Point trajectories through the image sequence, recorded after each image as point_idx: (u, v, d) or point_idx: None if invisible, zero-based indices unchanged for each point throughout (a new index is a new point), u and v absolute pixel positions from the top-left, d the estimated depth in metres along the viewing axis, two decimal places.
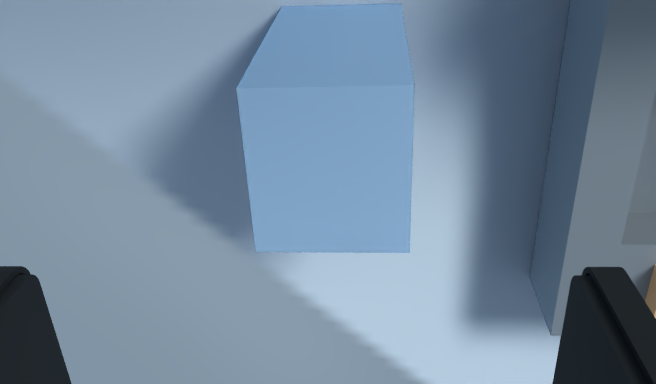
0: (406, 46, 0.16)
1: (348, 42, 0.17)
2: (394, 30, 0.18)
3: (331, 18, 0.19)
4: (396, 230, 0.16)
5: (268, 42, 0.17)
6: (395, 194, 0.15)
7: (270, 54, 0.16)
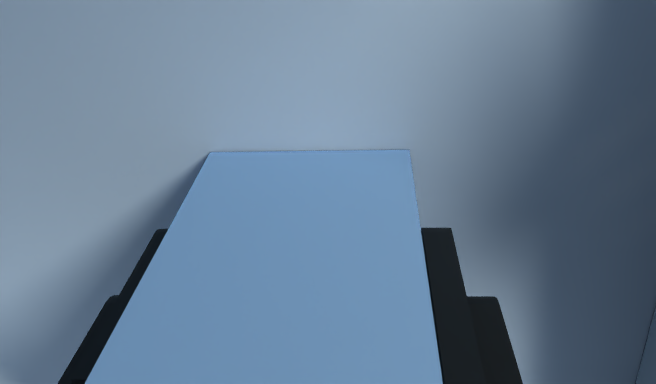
0: (429, 310, 0.08)
1: (310, 288, 0.08)
2: (402, 242, 0.09)
3: (288, 193, 0.11)
4: None
5: (154, 280, 0.09)
6: None
7: (143, 333, 0.08)
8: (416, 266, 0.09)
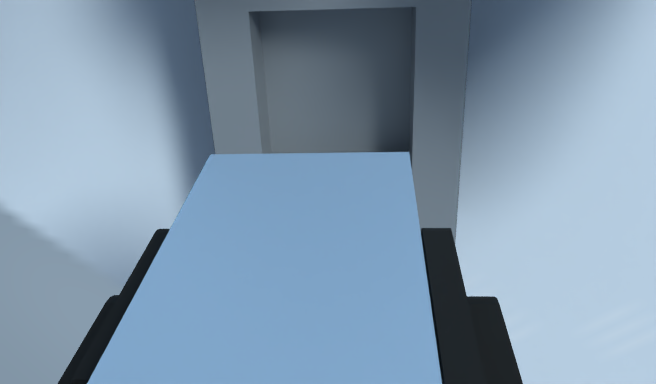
0: (429, 313, 0.08)
1: (311, 291, 0.08)
2: (401, 245, 0.09)
3: (288, 196, 0.11)
4: None
5: (154, 283, 0.09)
6: None
7: (143, 336, 0.08)
8: (416, 269, 0.09)
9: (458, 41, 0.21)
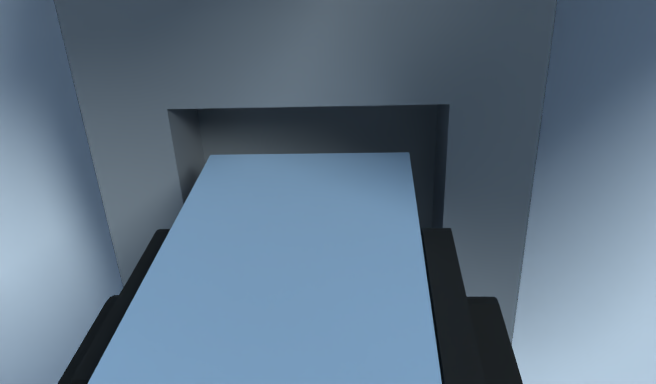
0: (429, 314, 0.08)
1: (311, 292, 0.08)
2: (401, 245, 0.09)
3: (288, 196, 0.11)
4: None
5: (154, 283, 0.09)
6: None
7: (144, 337, 0.08)
8: (416, 270, 0.09)
9: (519, 159, 0.12)
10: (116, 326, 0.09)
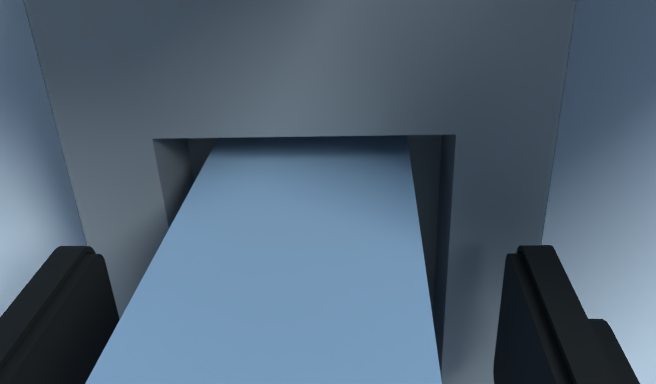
0: (422, 263, 0.09)
1: (315, 247, 0.09)
2: (398, 208, 0.10)
3: (293, 169, 0.12)
4: None
5: (172, 243, 0.10)
6: None
7: (165, 287, 0.09)
8: (411, 227, 0.10)
9: (530, 192, 0.11)
10: None
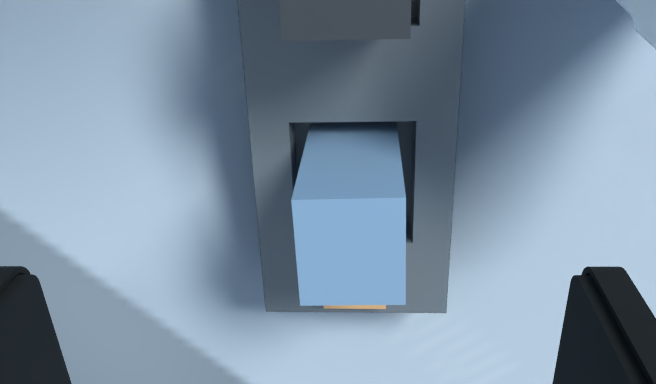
0: (400, 163, 0.24)
1: (361, 160, 0.25)
2: (392, 148, 0.26)
3: (347, 136, 0.27)
4: (396, 289, 0.23)
5: (306, 159, 0.25)
6: (395, 265, 0.23)
7: (308, 170, 0.24)
8: (397, 154, 0.25)
9: (448, 146, 0.27)
10: None
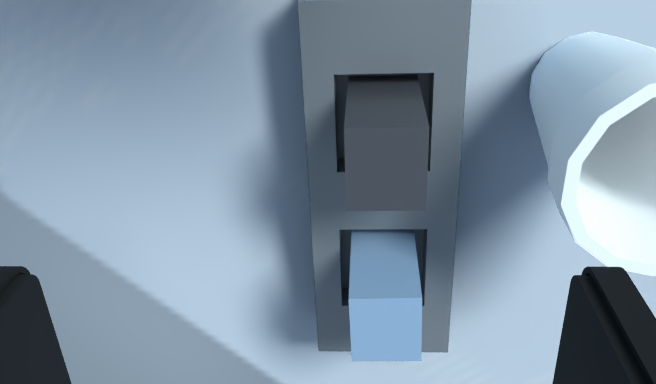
0: (417, 266, 0.36)
1: (390, 262, 0.37)
2: (411, 251, 0.38)
3: (379, 237, 0.39)
4: (415, 351, 0.36)
5: (353, 261, 0.37)
6: (414, 337, 0.35)
7: (356, 272, 0.36)
8: (414, 256, 0.37)
9: (449, 245, 0.39)
10: None
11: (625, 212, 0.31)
